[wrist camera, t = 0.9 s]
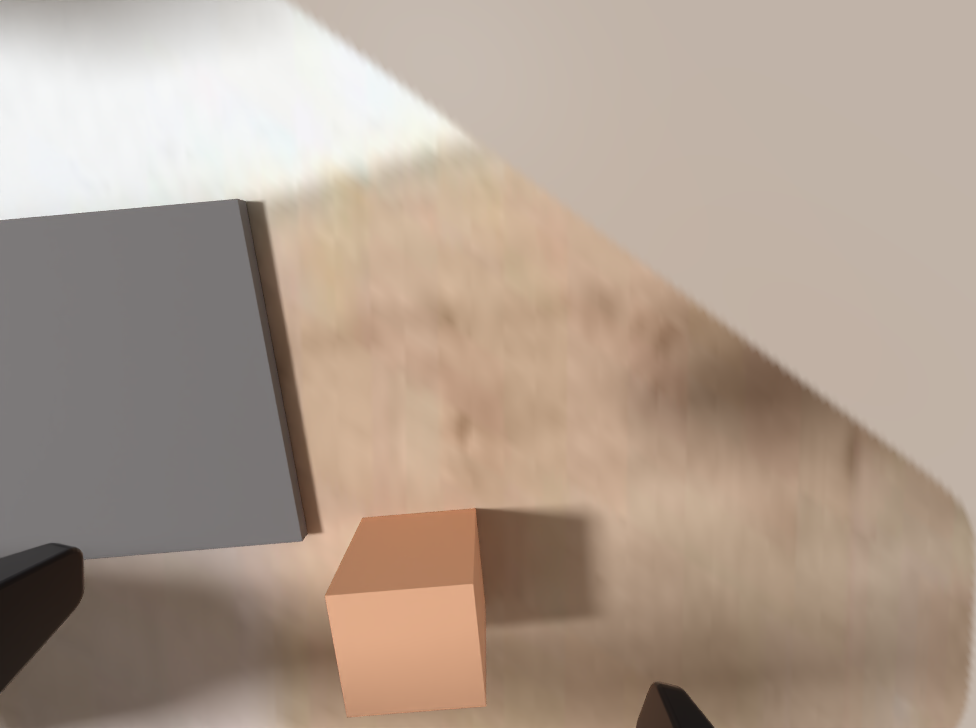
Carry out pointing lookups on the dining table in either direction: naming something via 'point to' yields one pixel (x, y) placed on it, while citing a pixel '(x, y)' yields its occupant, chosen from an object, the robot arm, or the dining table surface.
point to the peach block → (410, 615)
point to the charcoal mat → (140, 385)
